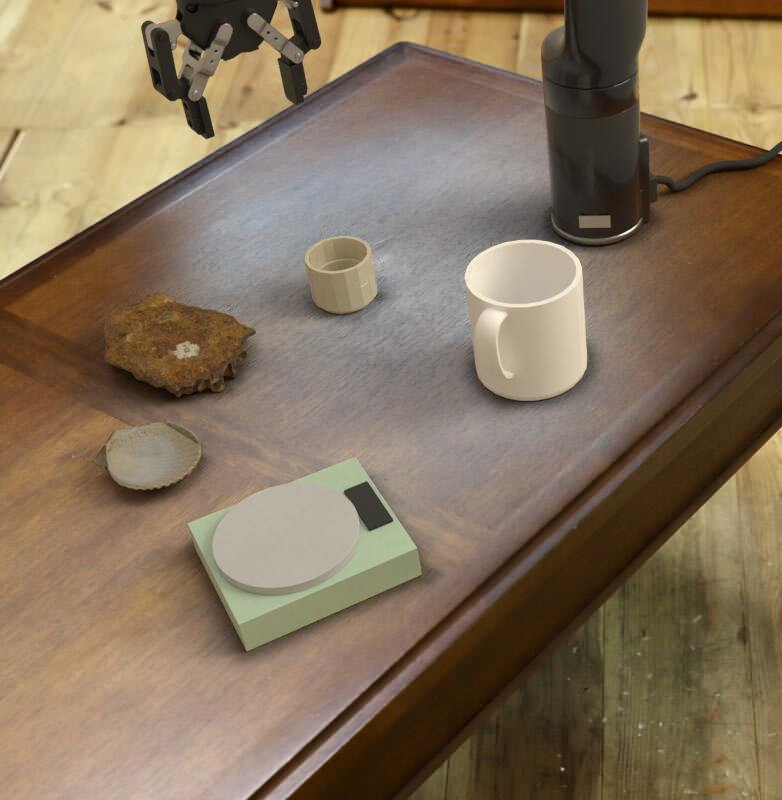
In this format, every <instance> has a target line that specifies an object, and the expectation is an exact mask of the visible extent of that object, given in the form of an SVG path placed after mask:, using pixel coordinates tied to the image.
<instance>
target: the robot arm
mask: <svg viewBox="0 0 782 800" xmlns="http://www.w3.org/2000/svg"><path fill="white" fill-rule="evenodd" d="M279 2H280V3H279ZM278 3H279V4H281V5H282V6H284V7H285V8H286V9H287V13H288V17H289V20H290V23H291V24H290V25H291V27H292V32H293V35H292V36H291V37H289V38H288V37H286V36H285V35H284V34H283V33H281V32H280V31H279V30H278V29H276V27H274V26H273V25H271V23H272V20H273V17H274V15H275V12H276V10H277V7H278ZM175 4H176V13H175V17H174V18H173V19H171V20H166V21H163V22H159V23H155V22H154V21H153V20H149V19H148V20H144V21H143V23H142V24H141V26H140V30H141V36H142V39H143V45H144V50H145V55H146V59H147V63H148V69H149V74H150V78H151V82H152V83H151V84H152V87H153V89H154V90H155V91H156V92H158V93H159V94H160V95H162V96H163V97H164V98H165V99H166V100H168V101H169V102H176V101H178V100H180V101H181V105H182V108H183V112H184V116H185V119H186V124H187V126H188V127H189V128H190V130H192V131H193V132H194V133H195V134H197V135H198V136H201V137H202V138H204V140H208V139H212V138H214V137H215V136H216V134H215V133H216V132H215V129H214V126H213V122H212V118H211V113H210V109H209V106H208V102H207V98H206V97H205V96H203V94H204V92H205V90H206V87H207V85H208V81H209V80H210V78H212V77H214V75H215V73H216V71H217V68H218V67H219V63H220V61H221V60H223V61H224V62H227V61H230V60H233V59H234V58H236V57H237V56H239V55H240V54H242V53H245V54H246V53H252V52H255V51H258V50H260V46H261V45H262V44H263V42H264V43H266V44H267V45H269V46H270V47H271V48H273V50H275V51H277V52H278V53H279V55H280V57H278V58H277V63H278V64H277V65H278V69H279V73H280V78H281V83H282V88H283V92H284V95H285V97H286V99H287V100H288V101H289V102H290V103H292V104H293V105H294V106H299V105H300V104H303V103H305V96H306V95H308V90H309V89H308V83H307V79H306V73H305V72H306V71H305V68H304V63H303V61H304V58H305V56H306V55H307V54H308V53H309V52H310V51H311V50H312V51H313V50H314V51H316V50H318V49H319V48H320V47H321V45H322V39H321V34H320V30H319V26H318V22H317V18H316V14H315V10H314V5H313V1H312V0H175ZM648 5H649V0H563V9H564V11H563V13H564V14H563V15H564V16H563V17H564V18H563V22H564V23H563V24H562V25H560V26H558V27H555V28H554V29H551V30H550V31H549V32H548V33H547V34H546V35H545V36H544V38H543V40H542V42H541V45H540V63H541V64H540V65H541V78H542V91H543V105H544V118H545V119H544V120H545V129H546V130H545V132H546V147H547V159H548V161H547V162H548V173H549V189H550V202H551V203H550V209H551V214H550V215H551V216H550V217H551V226H552V228H553V230H554V231H555V233H556V234H557V235H559V236H560V237H562V239H565V240H567V241H570V242H572V243H575V244H580V245H588V246H600V245H601V246H603V245H610V244H614V243H618V242H621V241H623V240H626V239H628V238H630V237H631V236H633V235H635V233H637V232H638V231H639V230H640V228H641V227H642V225H643V224H644V223H647V222H649V221H650V220H651V204H654V203H656V202H658V185H664V186H666V187H667V189H669V190H670V191H672V192H681V191H684V190H687V188H690V187H691V185H693V184H694V183H696V182H697V181H698V180H700V179H701V178H702V177H704V176H705V175H707V174H710V173H714V172H718V171H723V170H733V169H735V170H736V169H737V170H738V169H747V168H748V169H749V168H753V167H758V166H761V165H764V164H766V163H767V162H769V161H771V160H772V159H774V158H775V157H776V156H777V155H779V154H780V153H781V152H782V140H781V141H779V142H778V143H777V144H775V145H774V146H773V147H772V148H771V149H769V150H768V151H767V152H766V153H764V154H762V155H759V156H756V157H753V158H752V157H751V158H747V159H746V158H745V159H733V160H721V161H715V162H711V163H708V164H705V165H703V166H701V167H699V168H698V169H696V170H694V171H693V172H692V173H691V174H690V175H689V176H687V177H686V178H685V179H684V180H681V181H679V182H678V181H677V182H675V181H674V180H673V179H672V178H671V177H669V176H667V175H658V174H657V175H655V174H654V173H652V172H651V171H650V139H649V138H648V136H647V135H646V134H645V133H643V132H642V131H641V107H640V106H641V97H640V96H641V95H640V51H641V49H642V46H643V44H644V40H645V37H646V33H647V28H648V27H647V26H648V9H649V8H648ZM180 35H183V36H184V37H185V38H187V39H188V40H187V43H186V45H185V48H184V50H183V52H182V55H181V61H182V64H181V67H180V70H179V72H178V73H177V70H176V64H175V59H174V54H173V51H175V50H176V49H177V48H178V47H177V44H178V42H177V41H178V38H179V37H180ZM203 52H204V53H203ZM202 53H203V55H202ZM770 152H771V153H770ZM773 153H774V154H773Z"/></svg>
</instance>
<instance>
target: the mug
mask: <svg viewBox="0 0 782 800" xmlns="http://www.w3.org/2000/svg"><path fill="white" fill-rule="evenodd" d="M464 284H465V293H466V301H467V308H468V309H467V310H468V316H469V324H470V332H471V339H472V349H473V356H474V363H475V370H476V374H477V378H478V379H479V381H480V383H481V384H482V385H483V386H484V387H485V388H486V389H488V390H489V391H491V392H492V394H495V395H497V396H500V397H503V398H504V399H508V400H513V401H519V402H536V401H537V402H538V401H542V400H549V399H551V398H554V397H557V396H559V395H562V394H564V393H565V392H567V391H569V390H571V389H572V388H573V387H574V386H576V384H578V382H579V381H580V380H581V379H582V378H583V376H584V374H585V372H586V370H587V366H588V348H587V333H586V332H587V331H586V314H585V313H586V311H585V296H584V279H583V267H582V264H581V262H580V258H578V257H577V255H576V254H575V253H574V252H573V251H572V250H570V249H569V248H567V247H565V246H563V245H561V244H558V243H555V242H551V241H547V240H541V239H517V240H511V241H505V242H502V243H498V244H497V245H493V246H491V247H489V248H486V249H485V250H483V251H481V252H480V253H479V254H477V255H476V256H474V258H472V259H471V261H470V262H469V264H468V265H467V267H466V268H465V274H464Z"/></svg>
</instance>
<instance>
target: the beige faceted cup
mask: <svg viewBox="0 0 782 800" xmlns="http://www.w3.org/2000/svg"><path fill="white" fill-rule="evenodd" d="M304 265H305V270H306V274H307V275H306V276H307V279H308V284H309V289H310V293H311V298H312V301H313V303H314V304H315V305H316V306H317V307H318V308H320V309H323V310H324V311H326V312H328V313H331V314H339V315H341V314H351V313H355V312H357V311H360V310H362V309H364V308H365V307H367V306H368V305H370V303H371V302H373V301H374V299H375V297H376V296H377V295H378V281H377V277H376V270H375V265H374V258H373V253H372V247H371V245H369V243H368V242H367V241H366V240H364V239H361V238H359V237H356V236H350V235H339V236H338V235H337V236H331V237H327V238H325V239H322V240H319V241H317V242H316V243H314V244H312V245H311V246H310V247H309V248H308V249H307V251H306V252H305V253H304Z"/></svg>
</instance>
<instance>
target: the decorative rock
mask: <svg viewBox="0 0 782 800" xmlns="http://www.w3.org/2000/svg"><path fill="white" fill-rule="evenodd" d="M103 324H104V326H103V329H104V332H103V336H104V340H105V347H104V352H105V353H104V358H103V361H104V362H105V363H107V364H110V365H112V366H113V367H116V368H118V369H121V370H123V371H127V372H129V373H131V375H133V377H134V378H135V379H136V380H137V381H140V382H145V383H147V384H149V385H151V386H153V387H155V388H161V389H162V388H163V389H165V390H167V391H168V392H169V393H171V394H173V395H175V397H177V398H180V397H181V396H182V395H183V394H184V395H191V394H193V393H195V392H198V393H201V392H203V391H204V390H206V389H210V390H211V391H212V392H213V393H219V392H222V391H223V390H225V388H226V384H225V382H224V377H227V376H230V377H232V378H233V379H236V374H237V371H236V365H237V364H238V362H239V361H240V362H241V361H244V359H246V358H247V356H249V353H248V345H247V341H248V339H249V338H250V337H252V336H254V335H256V334H257V329H255V328H253V327H250V326H247V325H246V324H243V323H241V322H239V321H238V319H236V317H235V316H234V315H231V314H228V313H225V312H221V311H218V310H215V309H210V308H201V307H198V306H195V305H187V304H185V303H181V302H176V300H175V299H174V298H173V297H172V296H169V295H166V294H164V293H160V292H154V293H152V294H148V293H147V294H146V295H145V296H144V297H142V298H141V299H140V301H139V302H133V303H126V304H123V305H119V306H116V307H114V309H113V310H112V311H111V312H110V313H109V315H106V316H105V318H104V321H103Z"/></svg>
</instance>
